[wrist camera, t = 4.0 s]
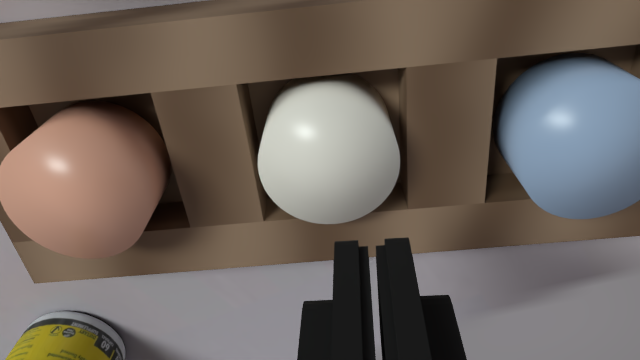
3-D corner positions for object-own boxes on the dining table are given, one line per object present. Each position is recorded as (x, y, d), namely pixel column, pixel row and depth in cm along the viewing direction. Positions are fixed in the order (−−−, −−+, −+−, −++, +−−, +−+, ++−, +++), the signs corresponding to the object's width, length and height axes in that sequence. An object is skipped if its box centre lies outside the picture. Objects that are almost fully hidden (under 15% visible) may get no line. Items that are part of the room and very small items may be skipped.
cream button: (387, 62, 17) (398, 92, 15) (391, 176, 20) (401, 218, 17) (256, 76, 18) (245, 106, 15) (276, 186, 20) (269, 229, 18)
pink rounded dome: (150, 94, 17) (121, 130, 15) (184, 205, 20) (163, 253, 17) (21, 107, 17) (-31, 144, 15) (70, 215, 20) (33, 263, 17)
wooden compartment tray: (690, -52, 17) (759, -42, 14) (626, 192, 22) (667, 233, 19) (-34, 26, 18) (-93, 49, 15) (66, 239, 23) (34, 283, 20)
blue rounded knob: (643, 45, 16) (703, 74, 14) (613, 168, 19) (660, 213, 16) (498, 60, 16) (532, 90, 14) (488, 179, 19) (514, 224, 16)
